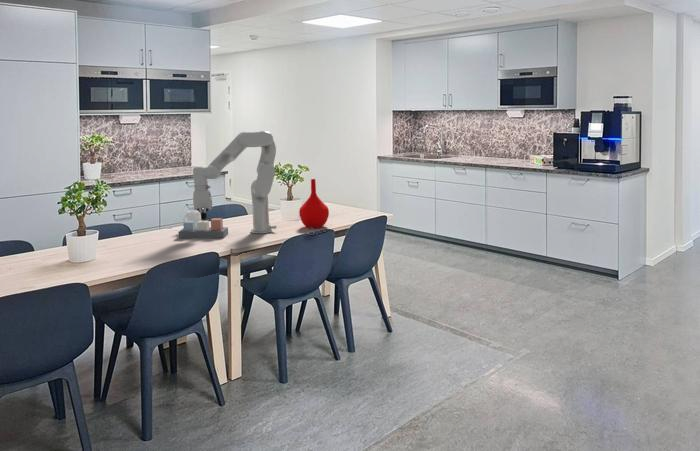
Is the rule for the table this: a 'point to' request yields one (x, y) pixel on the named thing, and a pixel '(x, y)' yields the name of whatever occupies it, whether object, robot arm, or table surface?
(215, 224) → the key brick
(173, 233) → the table surface
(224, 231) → the console
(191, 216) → the mug
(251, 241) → the table surface
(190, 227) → the key blue
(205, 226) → the key ivory
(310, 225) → the vase
